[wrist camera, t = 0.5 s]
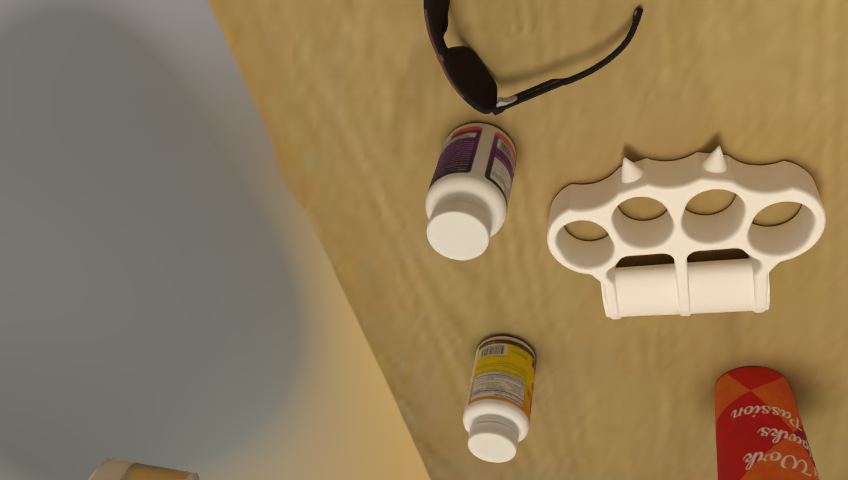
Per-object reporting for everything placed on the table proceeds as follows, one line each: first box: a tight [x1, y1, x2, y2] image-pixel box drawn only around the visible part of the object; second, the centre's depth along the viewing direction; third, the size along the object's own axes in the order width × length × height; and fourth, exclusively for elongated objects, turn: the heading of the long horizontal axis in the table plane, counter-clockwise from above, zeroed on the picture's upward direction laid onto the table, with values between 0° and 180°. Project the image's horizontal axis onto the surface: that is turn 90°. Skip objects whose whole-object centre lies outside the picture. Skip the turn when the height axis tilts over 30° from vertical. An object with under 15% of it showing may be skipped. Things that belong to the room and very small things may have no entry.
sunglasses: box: [424, 0, 643, 115], centre depth 42 cm, size 11×12×5 cm
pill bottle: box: [425, 123, 516, 260], centre depth 48 cm, size 5×5×10 cm
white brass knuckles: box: [547, 145, 826, 319], centre depth 51 cm, size 3×18×15 cm
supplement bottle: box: [463, 336, 536, 463], centre depth 61 cm, size 6×6×10 cm
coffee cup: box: [715, 367, 819, 480], centre depth 56 cm, size 8×8×15 cm
